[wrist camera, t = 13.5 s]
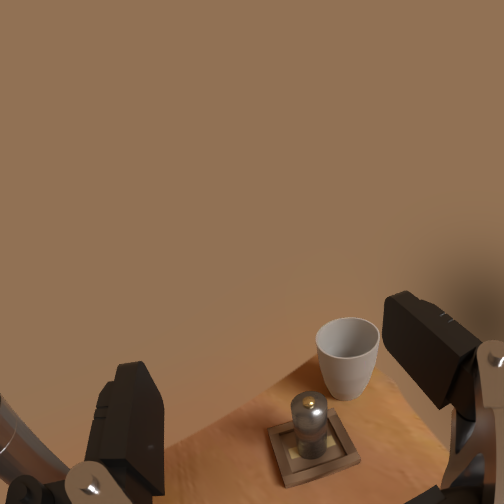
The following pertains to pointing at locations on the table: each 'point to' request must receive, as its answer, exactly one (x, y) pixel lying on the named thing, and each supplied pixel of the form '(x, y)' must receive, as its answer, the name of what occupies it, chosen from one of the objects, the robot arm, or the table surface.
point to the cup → (347, 355)
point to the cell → (310, 424)
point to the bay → (305, 470)
